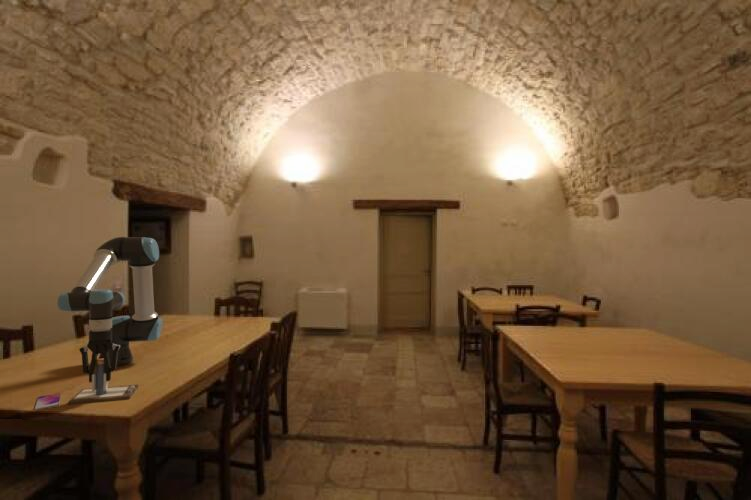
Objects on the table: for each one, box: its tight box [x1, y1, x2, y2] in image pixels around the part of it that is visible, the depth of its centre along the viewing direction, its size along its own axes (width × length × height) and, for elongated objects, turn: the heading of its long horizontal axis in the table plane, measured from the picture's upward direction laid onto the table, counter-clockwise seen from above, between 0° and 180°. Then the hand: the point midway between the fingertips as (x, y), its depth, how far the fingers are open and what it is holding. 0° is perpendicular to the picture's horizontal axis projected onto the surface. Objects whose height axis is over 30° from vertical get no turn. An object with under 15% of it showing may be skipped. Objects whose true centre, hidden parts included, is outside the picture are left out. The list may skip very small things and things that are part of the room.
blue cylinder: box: [95, 358, 106, 395], centre depth 158 cm, size 4×4×14 cm
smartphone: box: [33, 392, 62, 411], centre depth 152 cm, size 7×1×15 cm
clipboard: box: [67, 384, 139, 405], centre depth 160 cm, size 14×20×2 cm
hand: (99, 389), depth 156 cm, fingers closed on blue cylinder, 3 cm apart
